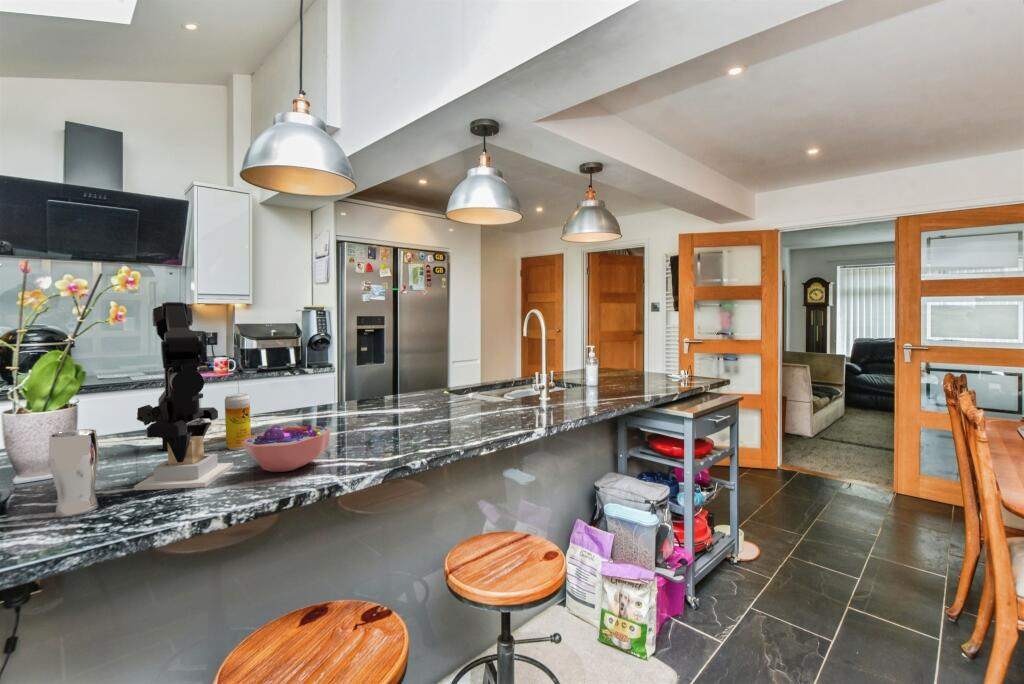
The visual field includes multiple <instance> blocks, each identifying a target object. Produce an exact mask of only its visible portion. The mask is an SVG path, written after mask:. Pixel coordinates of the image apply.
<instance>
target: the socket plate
mask: <svg viewBox="0 0 1024 684" xmlns="http://www.w3.org/2000/svg"><path fill="white" fill-rule="evenodd" d="M218 461H219V460H218V454H217V453H209V454H204V459H203V460H201V461H200V462H198V463H196V464H191V465H168V459H167V460H166V461H164V462H161V463H159V464H158V465H156V466H153V475H151V476H150V477H147V478H146V479H145V480H142V481H141V482H138V483H137V484H135V485H134V486H133V488H134V489H133V490H134V491H147V490H148V491H149V490H166V489H167V490H168V489H170V490H172V489H173V490H174V489H190V488H206V487H207V486H209V485H210V484H212V483H213V482H215V481H216V480H217V479H219V478H220V477H222V476H223V475H224V474H226V473H227V472H229V471H230V470H231V469H233V468H234V465H235V464H234V462H218Z"/></svg>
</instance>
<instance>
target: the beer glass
mask: <svg viewBox="0 0 1024 684" xmlns="http://www.w3.org/2000/svg"><path fill="white" fill-rule="evenodd" d="M97 434H98V433H97V429H94V428H93V429H92V428H87V429H86V428H82V429H80V428H79V429H73V430H72V429H71V430H65V431H60V432H56V433H52V434H50V435H49V436H48V437H49V442H48V443H49V444H48V460H49V461H48V463H49V468H50V473H51V476H52V479H53V482H54V487H55V488H56V494H57V502H56V506H55V507H56V508H55V516H56V517H60V518H68V517H70V518H71V517H75V516H81V515H85V514H87V513H90V512H92V511H95V510H97V509H98V508H99V505H100V504H99V502H98V498H97V495H96V479H97V473H98V467H99V462H100V461H99V460H100V459H99V458H100V448H99V442H98V441H99V440H98V435H97Z"/></svg>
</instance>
